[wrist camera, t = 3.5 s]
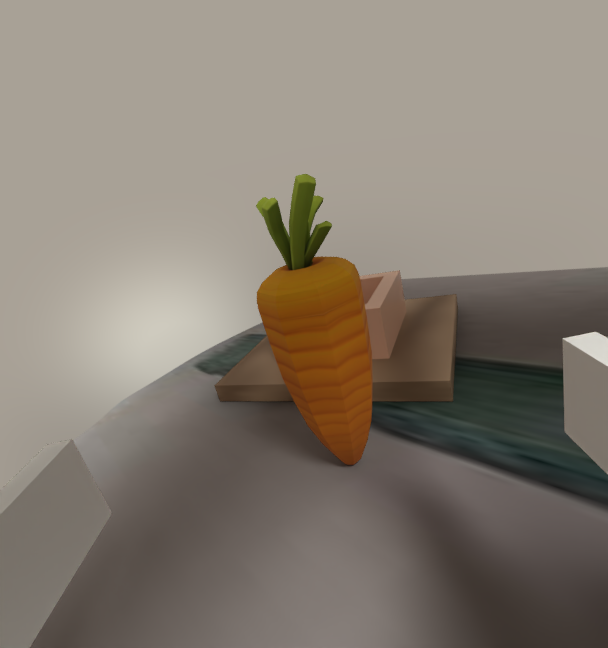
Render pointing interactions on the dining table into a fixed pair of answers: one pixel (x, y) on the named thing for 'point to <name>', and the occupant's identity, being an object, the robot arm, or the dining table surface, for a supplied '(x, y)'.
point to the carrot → (318, 327)
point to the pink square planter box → (383, 310)
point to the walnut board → (388, 374)
